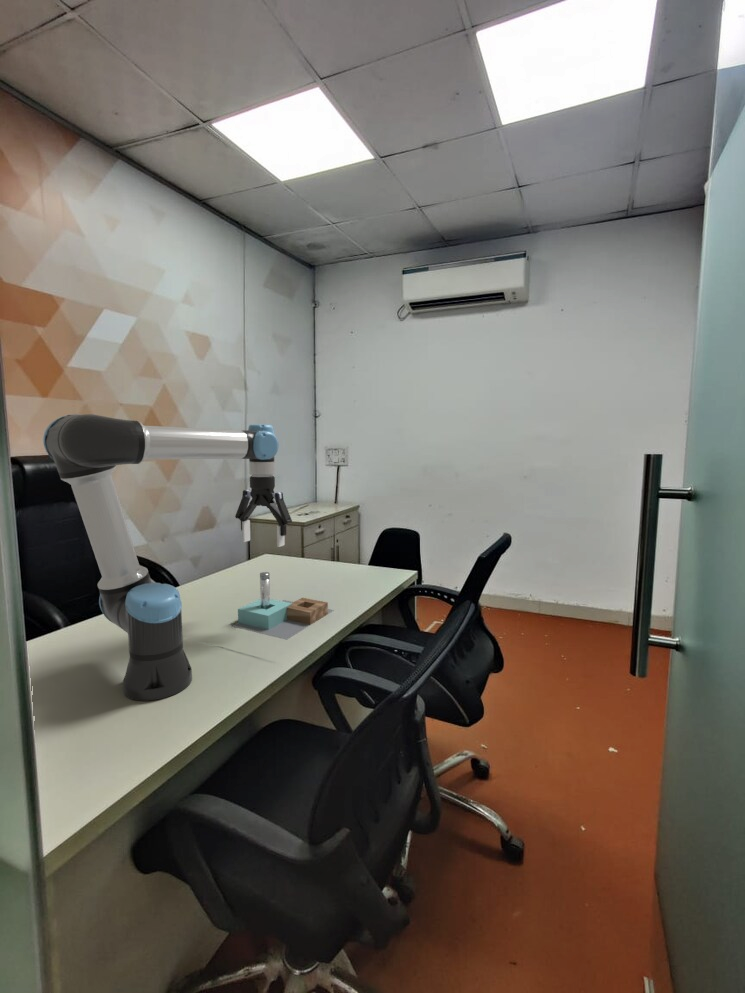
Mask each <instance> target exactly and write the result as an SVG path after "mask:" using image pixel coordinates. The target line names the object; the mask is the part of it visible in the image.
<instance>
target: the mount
mask: <svg viewBox="0 0 745 993" xmlns="http://www.w3.org/2000/svg"><path fill="white" fill-rule="evenodd" d="M292 602H293V603H292V605H291V606H289V607H287V620H291V621H295V622H300V623H304V624H309V625H310V626H311V625H313V624H315V623H316V622H318V621H319V620H321V619H323V618H324V617H326V616H327V615H329V614H328V609H329V605H328V604H329V602H327V601H323V600H317V599H312V598H307V597H300V598H299V599H296V600H295V601H292ZM322 617H323V618H322ZM314 622H315V623H314Z"/></svg>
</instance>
